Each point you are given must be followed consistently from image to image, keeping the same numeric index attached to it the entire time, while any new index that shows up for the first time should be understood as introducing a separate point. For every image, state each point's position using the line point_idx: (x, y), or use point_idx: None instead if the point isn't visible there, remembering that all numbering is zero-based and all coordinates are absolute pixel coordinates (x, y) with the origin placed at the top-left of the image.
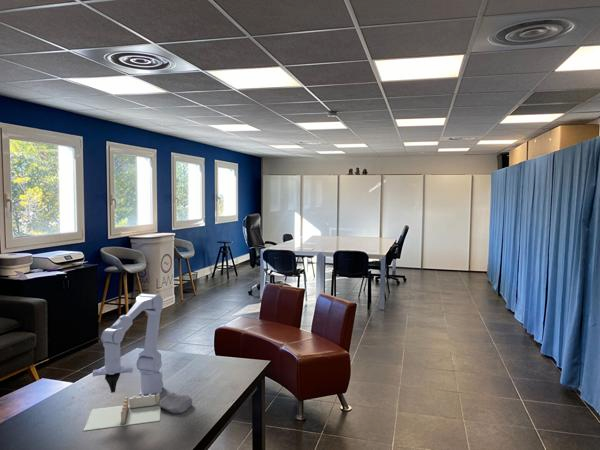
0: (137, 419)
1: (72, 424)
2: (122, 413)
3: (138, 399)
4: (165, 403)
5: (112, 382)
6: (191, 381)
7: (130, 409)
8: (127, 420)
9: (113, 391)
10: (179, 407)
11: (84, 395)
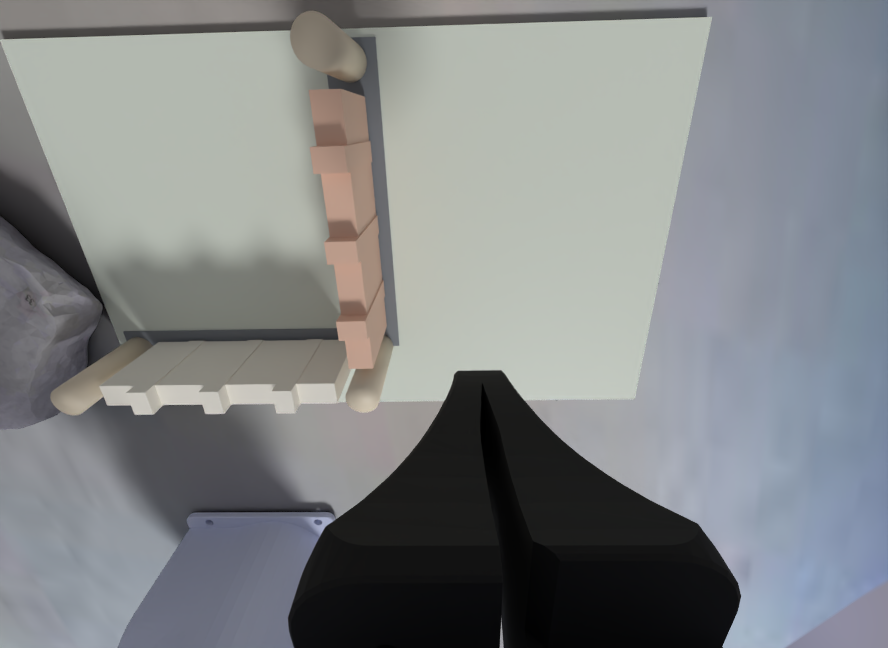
0: (234, 122)
1: (788, 195)
2: (316, 13)
3: (258, 374)
4: None
5: (500, 503)
6: (52, 598)
7: None
8: None
9: (471, 374)
10: None
11: None
